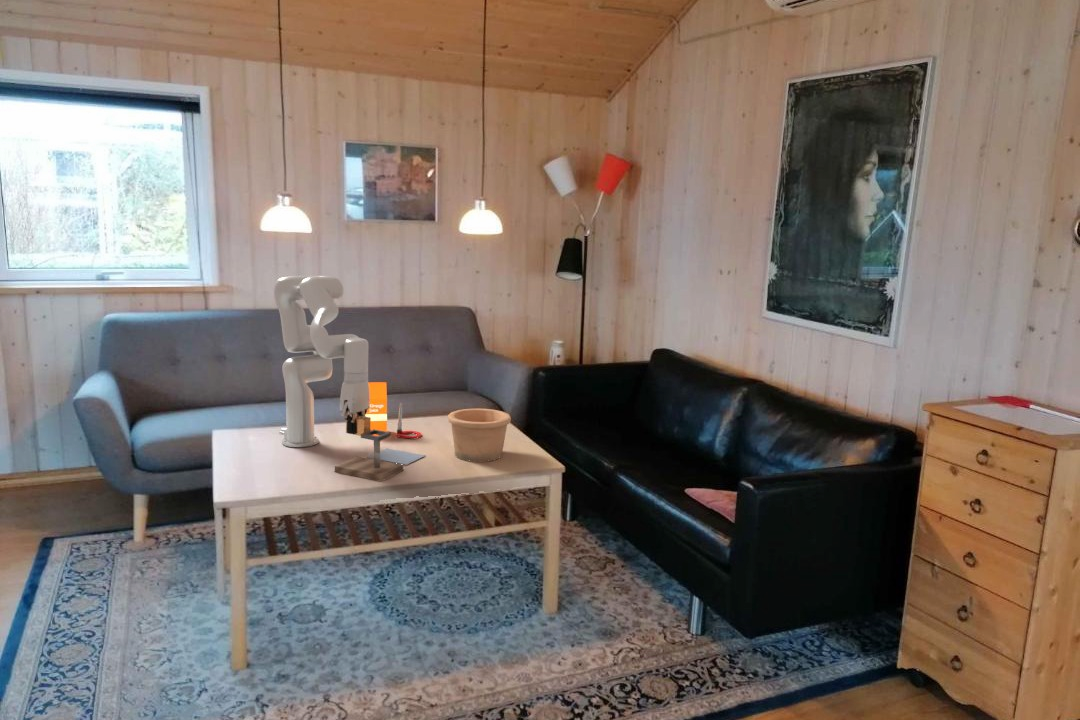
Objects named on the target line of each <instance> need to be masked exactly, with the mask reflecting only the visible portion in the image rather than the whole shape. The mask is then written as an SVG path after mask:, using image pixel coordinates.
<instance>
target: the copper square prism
mask: <svg viewBox="0 0 1080 720" xmlns="http://www.w3.org/2000/svg"><path fill="white" fill-rule="evenodd" d="M350 416H351V417H352V415H351V414H350ZM355 422H356V434H352V435H354V436H360V438H361V439H365V440H371V441H373V442H374V441H380V442H382V441H383V440H385V439H388V438H391V436H392V432H390V431H387V432H386V431H380V430H375V429H373V430H370V429H371V418H370V417H365V416H360V415H356V414H355ZM345 434H349V433H347V422H346V421H345ZM374 434H376V435H379V436H374ZM349 435H350V434H349Z"/></svg>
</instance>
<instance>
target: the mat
mask: <svg viewBox="0 0 1080 720" xmlns="http://www.w3.org/2000/svg"><path fill="white" fill-rule="evenodd" d="M424 456H425V457H426V454H419V453H416V452H415V453H414V452H409V451H403V450H399V449H393V448H385V449H381V450H380V461H385V462H390V463H397V464H403V466H405V465H407V464H409V463H411V462H413V463H415V462H417V461H419V460H421V459H423V458H425V457H424ZM422 457H423V458H422ZM366 458H369V459H374V453H373V454H371V455H369V456H366ZM420 458H421V459H420ZM418 459H419V460H418ZM416 460H417V461H416ZM414 461H415V462H414ZM411 464H412V463H411ZM409 465H410V464H409ZM407 466H408V465H407Z"/></svg>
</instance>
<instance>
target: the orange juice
mask: <svg viewBox="0 0 1080 720" xmlns="http://www.w3.org/2000/svg"><path fill="white" fill-rule="evenodd" d="M368 383H369V394H370V402H369V406H370V408H369V409H368V410H367V412H366V414H365V417H370V418H371V429H370V430H373V429H375V430H380V431H386V432H388V427H387V426H388V395H387V393H388V392H387V391H388V390H387V381H386V382H384V381H383V382H379V381H378V382H377V381H376V382H375V381H374V382H369V381H368ZM374 436H379V435H376V434H374Z"/></svg>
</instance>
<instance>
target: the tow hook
mask: <svg viewBox="0 0 1080 720" xmlns="http://www.w3.org/2000/svg"><path fill="white" fill-rule="evenodd" d="M402 420H403V402H400V403H399V408H398V422H397V429H396V435H395V436H396V438H397V437H399V438H402V437H403V439H407V438H417V437H420V438H422V432H419V431H416V430H403V429H402V427H403V422H402ZM408 433H414V434H413V435H407V434H408ZM416 434H417V435H416ZM417 439H418V438H417Z"/></svg>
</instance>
